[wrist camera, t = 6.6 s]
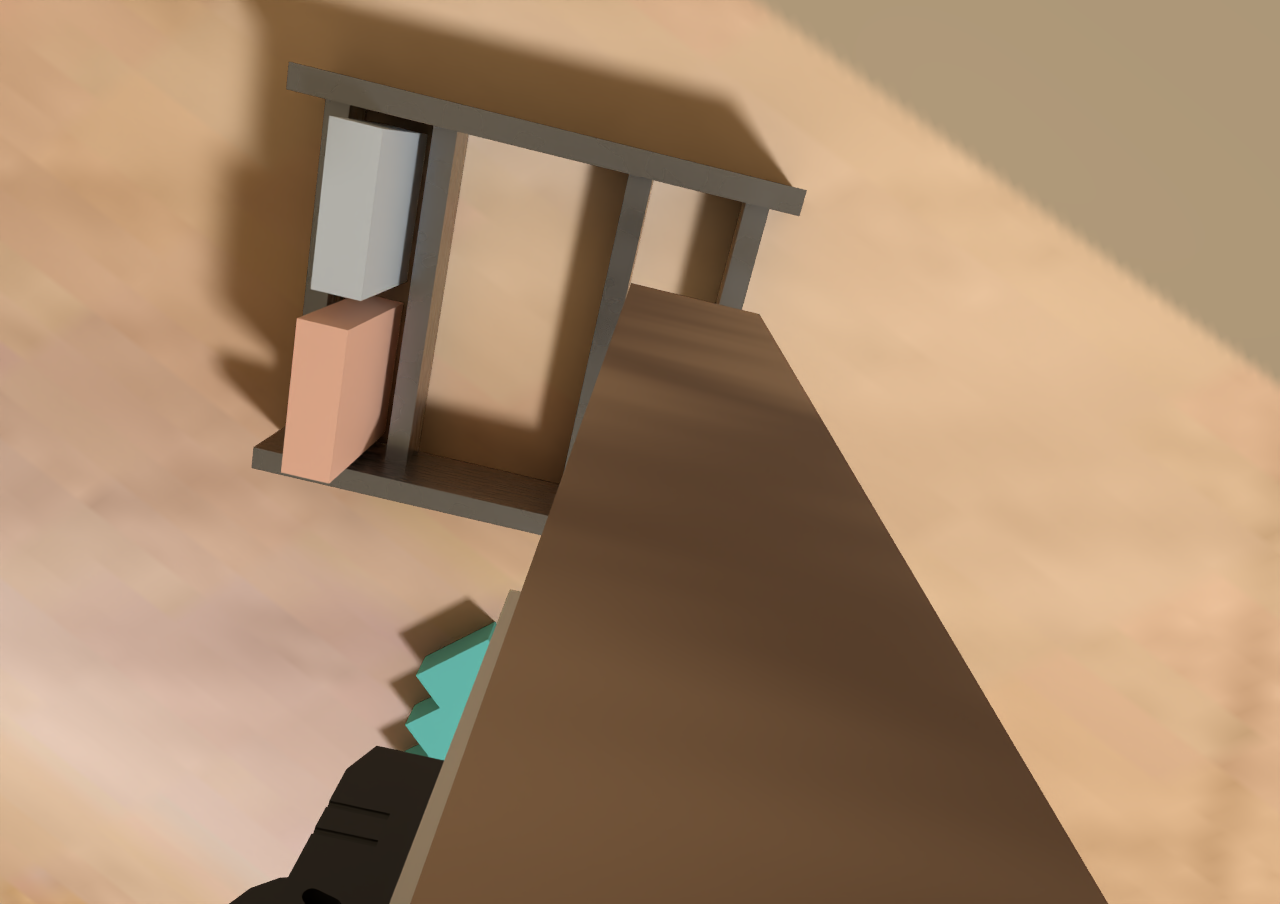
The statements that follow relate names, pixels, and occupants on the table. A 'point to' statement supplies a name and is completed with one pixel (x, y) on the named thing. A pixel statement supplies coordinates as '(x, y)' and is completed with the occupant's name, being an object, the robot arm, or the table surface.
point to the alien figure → (446, 692)
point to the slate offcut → (367, 207)
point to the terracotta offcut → (339, 385)
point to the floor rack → (399, 462)
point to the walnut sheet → (731, 671)
